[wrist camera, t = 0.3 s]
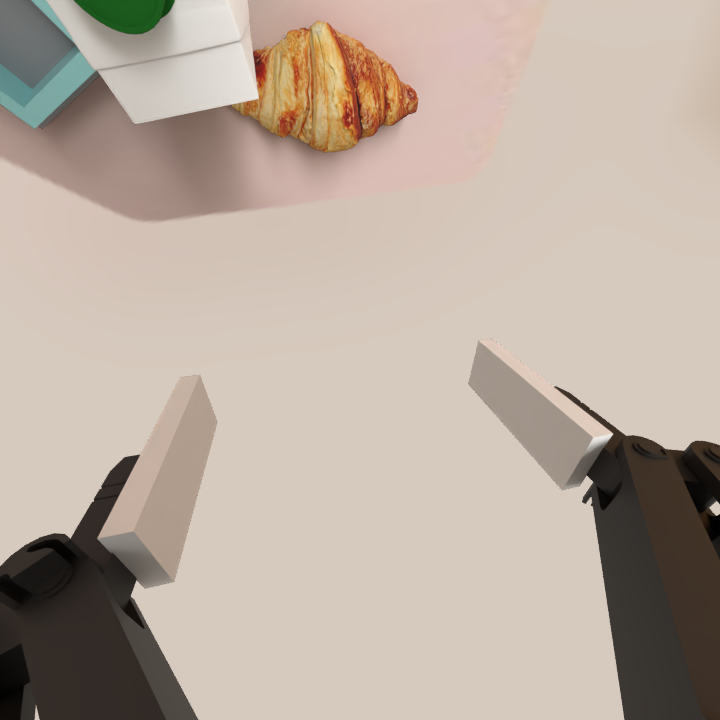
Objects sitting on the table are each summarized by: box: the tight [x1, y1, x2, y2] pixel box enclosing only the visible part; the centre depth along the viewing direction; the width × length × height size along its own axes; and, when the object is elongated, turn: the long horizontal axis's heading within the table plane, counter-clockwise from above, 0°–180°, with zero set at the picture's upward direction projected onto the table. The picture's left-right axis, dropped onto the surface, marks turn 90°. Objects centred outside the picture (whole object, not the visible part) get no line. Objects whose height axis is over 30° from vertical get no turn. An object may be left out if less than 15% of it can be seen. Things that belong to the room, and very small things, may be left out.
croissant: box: [232, 21, 418, 153], centre depth 30 cm, size 21×10×8 cm, turn 83°
